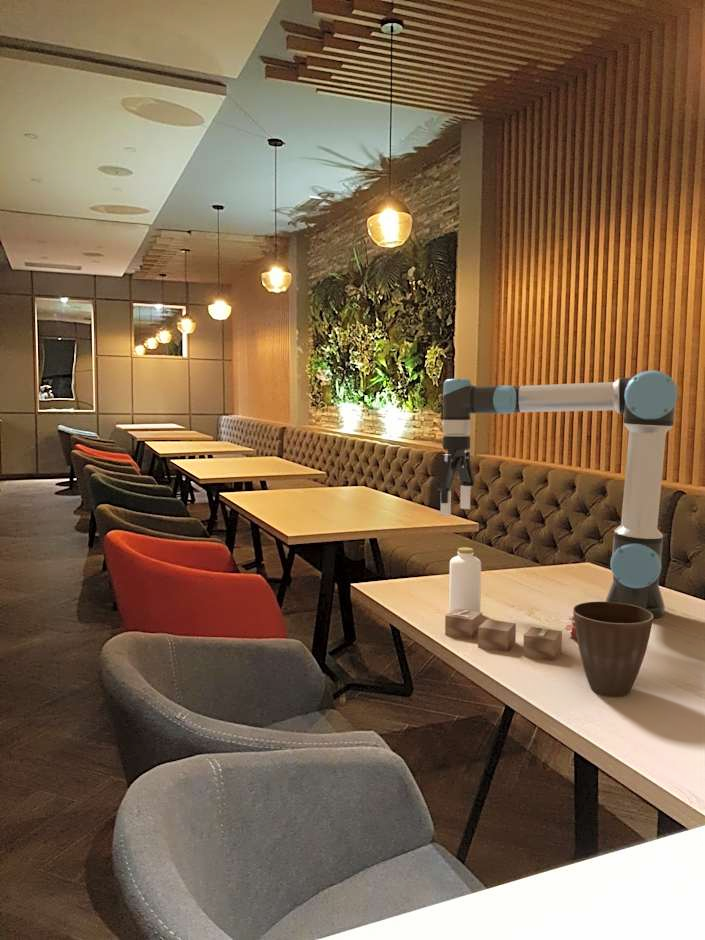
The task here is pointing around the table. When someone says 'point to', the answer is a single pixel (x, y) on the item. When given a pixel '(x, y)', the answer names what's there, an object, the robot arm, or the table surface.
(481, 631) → the plain block
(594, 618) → the plant pot
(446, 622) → the marked block seven
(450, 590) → the potion bottle
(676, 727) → the table surface
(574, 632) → the flower
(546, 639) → the marked block one
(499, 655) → the table surface
